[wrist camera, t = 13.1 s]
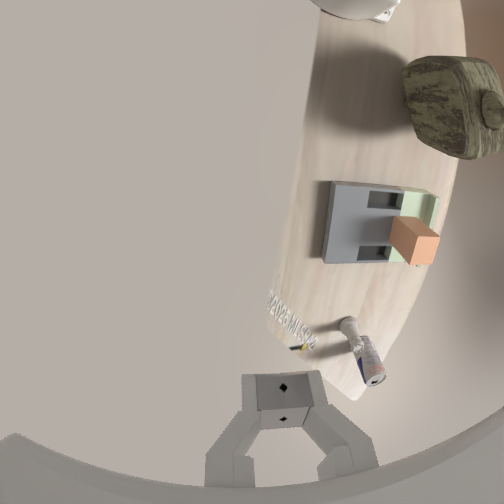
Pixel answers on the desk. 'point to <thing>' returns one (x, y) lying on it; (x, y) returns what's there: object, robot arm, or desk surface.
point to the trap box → (370, 220)
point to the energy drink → (370, 363)
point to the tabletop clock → (456, 105)
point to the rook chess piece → (352, 333)
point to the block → (413, 240)
